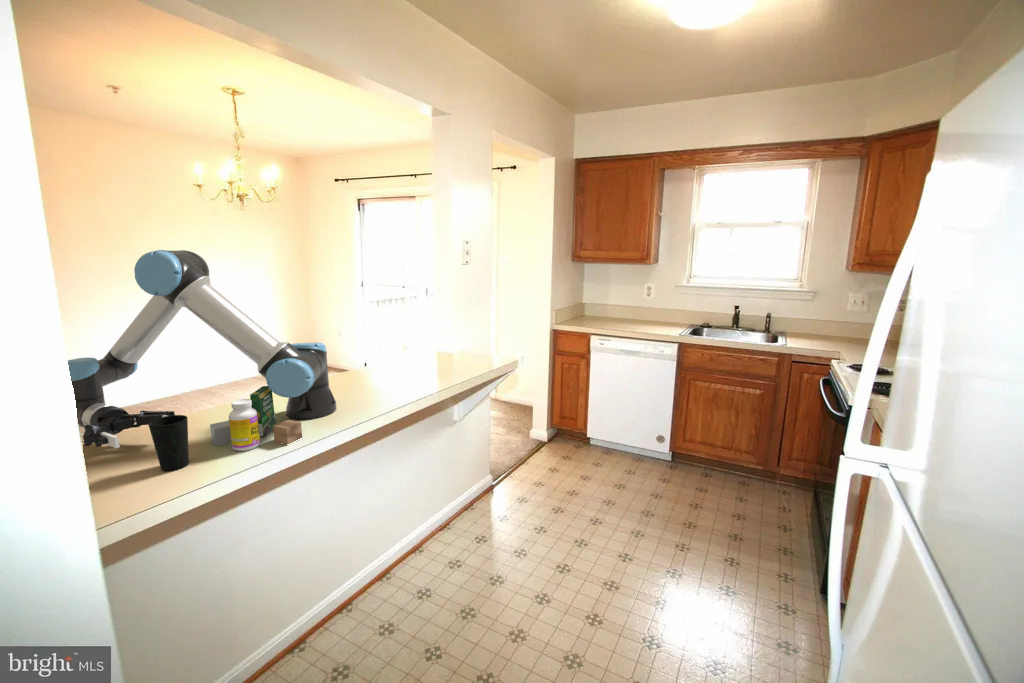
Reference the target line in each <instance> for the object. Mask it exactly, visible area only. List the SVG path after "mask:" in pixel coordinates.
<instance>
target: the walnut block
mask: <svg viewBox="0 0 1024 683" xmlns="http://www.w3.org/2000/svg"><path fill="white" fill-rule="evenodd" d="M272 431H273V440H274V443H275V442H276V443H275V444H279V443H283V444H282V445H284V444H290V443H292V442H294V441H296V440H298V439H300V438H302V439H303V431H302V421H297V420H290V419H287V420H284V421H281V422H279V423H276V425H274V426H273V430H272ZM298 441H299V440H298ZM296 442H297V441H296ZM294 443H295V442H294ZM292 444H293V443H292ZM290 445H291V444H290Z"/></svg>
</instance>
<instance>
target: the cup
mask: <svg viewBox="0 0 1024 683" xmlns="http://www.w3.org/2000/svg"><path fill="white" fill-rule="evenodd" d="M188 422H189V421H188V416H187V415H183V414H175V415H172V416H166V417H161V418H158V419H155V420H153V421H151V422H150V423H149V424H148V425H147V426H148V428H149V432H150V434H151V439H152V442H153V445H154V450H155V452H156V456H157V461H158V463H159V466H160V469H161V471H162V472H166V473H167V472H168V473H170V472H175V470H176V471H179V470H178V469H180V470H182V469H184V468H183V467H185V466H186V467H188V466H189V465H188V464H190V457H189V456H190V455H189V423H188ZM187 465H188V466H187ZM186 467H185V468H186ZM181 468H182V469H181Z"/></svg>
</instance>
